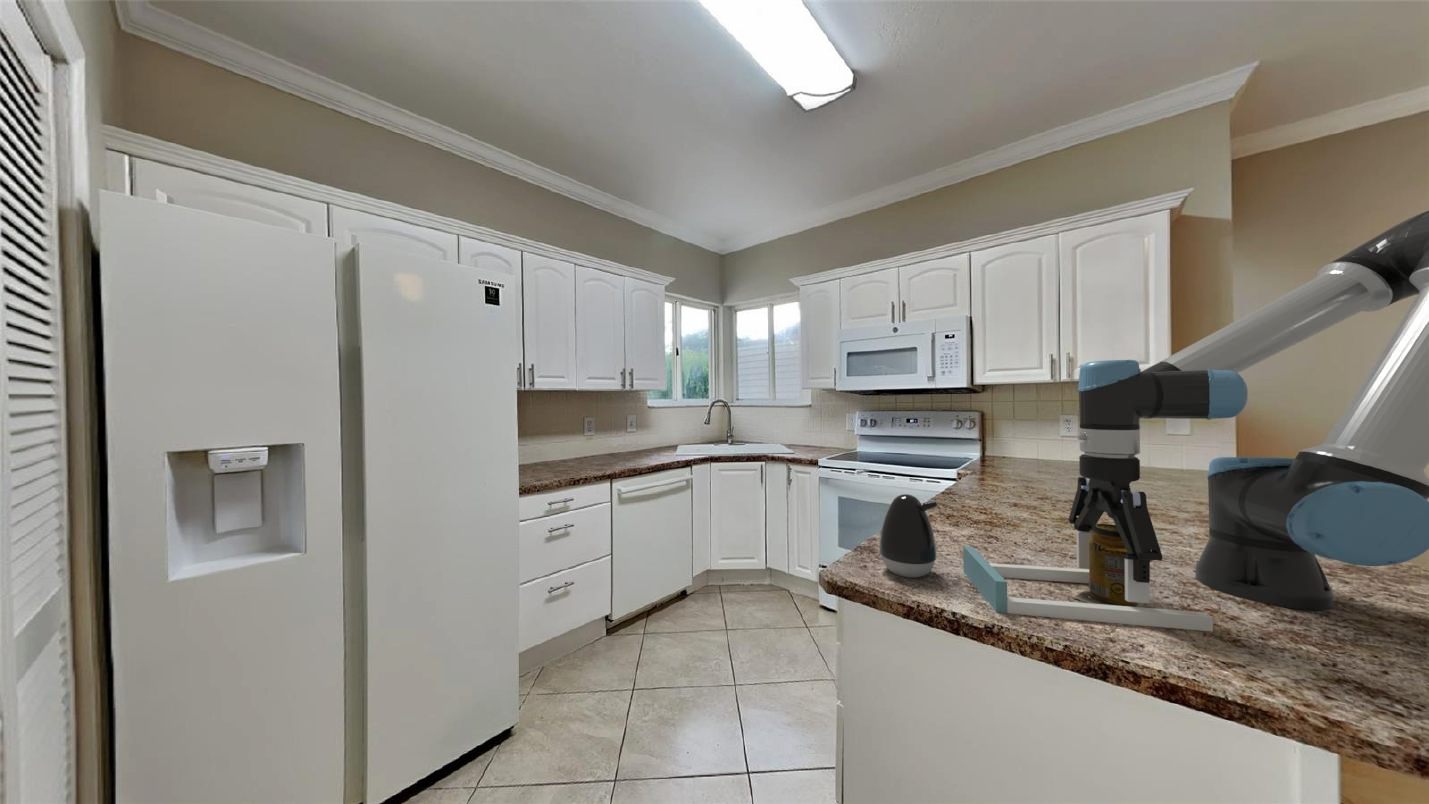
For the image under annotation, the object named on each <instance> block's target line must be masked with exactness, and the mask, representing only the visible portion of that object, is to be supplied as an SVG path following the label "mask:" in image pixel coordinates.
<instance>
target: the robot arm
mask: <svg viewBox="0 0 1429 804" xmlns="http://www.w3.org/2000/svg"><path fill="white" fill-rule="evenodd" d="M1316 275H1317V276H1316V277H1315V278H1314V279H1312V280H1311V279H1310V281H1308V282H1306V283H1304V284H1302V285H1300V286H1298V287H1296V288H1295V289H1293V290H1291V291H1290V292H1287V293H1286V294H1283V295H1282V296H1279V297H1278V298H1276V299H1275V300H1274V299H1273V301H1271V302H1269V303H1267V304H1265V305H1263V306H1261V307H1260V308H1258V309H1256V310H1253V311H1251V312H1250V313H1248V314H1247V315H1245V316H1243V317H1240V318H1238V319H1237V320H1236V321H1233V322H1231V323H1229V324H1228V325H1225V326H1224V327H1222V328H1221V329H1219V330H1217V331H1214V332H1213V333H1211V334H1209V335H1207V336H1205V337H1203V338H1202V339H1200V340H1198V341H1196V342H1194V343H1192V344H1191V345H1190V344H1189V346H1186V347H1184V348H1183V349H1181V350H1179V351H1178V352H1176V353H1173V354H1172V355H1170V356H1168V357H1167V358H1164V359H1163V360H1161V361H1159V362H1158V363H1155V364H1153V365H1151V366H1149V367H1147V368H1145V369H1143V370H1142V369H1141V368H1140V363H1139V362H1138V361H1137V360H1134V359H1112V360H1095V361H1089V362H1085V363H1083V364H1082V365H1080V368H1079V373H1078V374H1079V375H1078V388H1077V392H1078V412H1079V414H1078V417H1079V434H1078V435H1077V436H1076V438H1077V440H1079V451H1081V452H1083V454H1080V456H1078V458H1079V460H1078V461H1079V475H1080V477H1078V478H1077V489H1076V491H1075V494H1074V495H1075V496H1074V499H1073V502H1072V503H1073V504H1072V506H1071V509H1070V513H1069V515H1068V516H1069V517H1068V522H1069V524H1071V525H1073V528H1074V529H1075V531H1076V568H1077V569H1089V542H1090V541H1091V540H1092V533H1093V531H1092V527H1093V525H1096V524H1098V522H1099V521H1100V519H1101V518H1102V516H1103V514H1104V513H1106V514H1107V516H1108V517H1109V518H1110V519H1112V520H1113V523H1114V525H1116V527H1117V529H1118V532H1119V534H1120V536H1121V539H1122V541H1123V543H1124V546H1125V548H1126V550H1127V552H1128V553H1127V554H1126V555H1125V556H1124V558H1125V600H1126V601H1128V602H1139V603H1145V604H1150V603H1151V599H1150V594H1151V593H1150V585H1151V584H1150V582H1151V581H1150V580H1151V575H1150V573H1151V565H1150V564H1151V562H1152V561H1158V562H1159V561H1160V562H1161V561H1162V560H1163V555H1162V551H1161V548H1160V544H1159V540H1158V538H1157V535H1156V532H1155V528H1154V526H1153V522H1152V520H1151V518H1152V517H1151V515H1150V512H1149V509H1148V504H1147V503H1148V502H1147V494H1146V492H1144V491H1133V490H1131V486H1130V485H1131V483H1132V482H1137V481H1139V480H1140V478H1141V460H1140V459H1139V458H1138V455H1139V454H1140V453H1141V443H1140V441H1141V440H1140V439H1141V438H1140V437H1141V433H1140V431H1141V429H1140V428H1141V427H1140V426H1141V425H1140V420H1141V419H1147V420H1148V419H1150V420H1151V419H1174V420H1175V419H1178V420H1179V419H1182V420H1184V419H1186V420H1187V419H1194V420H1197V419H1198V420H1200V419H1203V420H1204V419H1205V420H1208V421H1210V420H1213V419H1215V420H1216V419H1232V418H1234V417H1237V416H1239V414H1241V413H1242V412H1243V410H1244V409H1245V407H1246V406H1247V402H1248V385H1247V382H1245V379H1244V378H1243V377H1242V375H1240V374H1239V373H1241V372H1244V370H1246V369H1249V368H1250V367H1253V366H1255V365H1257V364H1259V363H1261V362H1263V361H1265V360H1267V359H1269V358H1271V357H1273V356H1275V355H1277V354H1279V353H1280V352H1282V351H1285V350H1287V349H1289V348H1290V347H1293V346H1295V345H1296V344H1298V343H1301V342H1303V341H1304V340H1307V339H1309V338H1310V337H1313V336H1314V335H1317V334H1319V333H1321V332H1323V331H1325V330H1327V329H1329V328H1331V327H1333V326H1335V325H1337V324H1339V323H1340V322H1343V321H1345V320H1346V319H1349V318H1351V317H1352V316H1354V315H1357V314H1360V312H1368V313H1369V312H1375V311H1381V310H1382V309H1384V308H1386V307H1389V306H1391V305H1393V304H1394V303H1397V302H1400V301H1401V300H1405V299H1407V298H1410V297H1412V296H1415V295H1417V296H1416V298H1415V299H1414V301H1413V302H1412V304H1411V305H1410V307H1409V308H1408V310H1407V312H1406V313H1405V314H1404V316H1403V318H1402V319H1401V320H1400V323H1399V324H1398V325H1397V327H1396V329H1395V330H1394V332H1393V333H1392V335H1391V336H1390V338H1389V340H1388V341H1387V343H1386V344H1385V346H1384V347H1383V349H1382V351H1381V352H1380V353H1379V355H1378V357H1377V359H1376V360H1375V361H1374V363H1373V365H1372V367H1371V368H1370V369H1369V371H1368V372H1367V374H1366V376H1365V377H1364V379H1363V380H1362V382H1361V384H1359V386H1358V388H1357V390H1356V391H1355V393H1354V394H1353V396H1352V397H1351V399H1350V401H1349V402H1348V404H1347V405H1346V407H1345V408H1344V410H1343V411H1342V413H1341V414H1340V416H1339V418H1338V419H1337V421H1336V422H1335V424H1334V426H1333V427H1332V428H1331V430H1330V431H1329V433H1328V435H1327V436H1326V438H1325V440H1324V441H1323V442H1322V443H1321V444H1319V445H1314V446H1312V447H1307V448H1303V449H1300V450H1299V452H1298V453H1297V455H1296V457H1294V458H1293V457H1258V456H1257V457H1256V456H1255V457H1252V456H1251V457H1249V456H1248V457H1247V456H1246V457H1244V456H1243V457H1242V456H1227V457H1225V456H1221V457H1215V458H1213V459H1211V461H1210V463H1208V464H1209V466H1208V473H1207V475H1206V479H1207V480H1208V481H1207V482H1208V490H1207V491H1208V524H1209V525H1208V533H1209V534H1208V535H1209V536H1208V540H1207V543H1206V544H1205V547H1204V548H1203V550H1202V553H1201V555H1200V557H1199V560H1198V561H1197V563H1196V565H1195V570H1194V571H1195V579H1196V581H1197V582H1198V583H1200V584H1201V585H1204V586H1205V587H1208V588H1210V589H1212V590H1215V591H1217V592H1220V593H1223V594H1226V595H1229V596H1233V597H1236V598H1239V599H1244V600H1248V601H1252V602H1256V603H1261V604H1264V605H1270V606H1277V607H1283V608H1285V609H1293V610H1301V611H1302V610H1303V611H1325V610H1330V609H1332V608H1333V607H1334V591H1333V589H1332V587H1331V586H1330V584H1329V582H1328V579H1327V576H1326V575H1325V572H1324V570H1323V568H1322V567H1321V565H1320V563H1319V560H1318V558H1317V556H1318V557H1321V558H1324V559H1327V560H1333V561H1334V560H1335V561H1339V562H1343V563H1345V564H1350V565H1353V566H1354V565H1355V566H1359V567H1360V566H1361V567H1383V566H1389V565H1391V566H1392V565H1398V564H1402V563H1406V562H1409V561H1411V560H1413V559H1415V558H1418V557H1420V556H1421V555H1424V553H1425V552H1427V551H1429V501H1428V500H1429V477H1428V476H1427V475H1426V474H1425V469H1426V468H1427V467H1428V465H1429V210H1427V211H1424V212H1421V213H1418V214H1417V215H1414V216H1411V217H1410V218H1408V219H1406V220H1404V221H1402V222H1400V223H1397V224H1396V225H1394V226H1392V227H1390V228H1389V229H1387V230H1385V231H1384V232H1382V233H1380V234H1379V235H1377V236H1375V237H1373V238H1371V239H1369V240H1367V241H1366V242H1364V243H1363V244H1361V245H1359V246H1358V247H1356V248H1353V250H1351V251H1349V252H1347V253H1346V254H1344V255H1342V256H1340V257H1339V258H1337V259H1335V260H1333V261H1331V262H1329V263H1327V264H1326V265H1324V266H1322V267H1321V268H1320V269H1319V271H1318V272H1317V274H1316ZM1136 455H1137V457H1136ZM1135 550H1136V551H1135Z"/></svg>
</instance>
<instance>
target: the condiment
mask: <svg viewBox="0 0 1429 804" xmlns="http://www.w3.org/2000/svg"><path fill="white" fill-rule="evenodd" d="M1091 532H1093V533H1092V540H1091V541H1090V542H1089V583H1088V585H1089V588H1087V589H1085V590H1084V591H1081V592H1080V593H1078V594H1077V595H1074V596H1073V598H1074V599H1077V600H1079V601H1081V602H1083V603H1090V604H1103V605H1116V606H1128V607H1141V608H1143V606H1144V605H1145V604H1146V603H1139V602H1128V601H1126V600H1125V558H1124V556H1125V555H1126V554H1127V553H1128V552H1127V550H1126V548H1125V546H1124V543H1123V541H1122V539H1121V536H1120V534H1119V532H1118V529H1117V527H1116V525H1115V524H1110V523H1097V524H1096V525H1093V527H1092V531H1091ZM1135 551H1136V550H1135Z"/></svg>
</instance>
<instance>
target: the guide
mask: <svg viewBox="0 0 1429 804" xmlns="http://www.w3.org/2000/svg"><path fill="white" fill-rule="evenodd" d="M962 549H963V550H962V552H963V553H962V554H963V555H962V556H963V557H962V559H963V573H964V574H965V575H966V576H967V578H968V579H969V580H970V581H971V583H972V584H973V585H974V586H975V587H976V589H977V591H978V592H979V593H980V594H981V596H983V598H984V599H985V600H986V602H987V603H988V602H989V603H988V604H989V605H990V606H991V608H992V607H993V608H992V609H993V611H994V612H995V613H1001V612H1003V613H1004V614H1014V615H1024V616H1025V615H1026V616H1033V617H1034V616H1035V617H1043V618H1044V617H1046V618H1058V619H1067V620H1079V621H1088V622H1099V623H1111V624H1112V623H1113V624H1121V625H1134V626H1145V627H1157V628H1168V629H1178V630H1180V629H1182V630H1191V631H1201V632H1213V633H1214V618H1213V616H1211V615H1209V614H1207V613H1206V612H1202V611H1191V610H1178V609H1177V610H1176V609H1168V608H1167V609H1165V608H1154V607H1152V608H1151V607H1128V606H1116V605H1103V604H1090V603H1087V602H1077V601H1076V602H1073V601H1063V600H1049V599H1038V598H1037V599H1036V598H1035V599H1034V598H1022V597H1011V596H1008V581H1007V580H1006V578H1008V579H1020V580H1033V581H1050V582H1062V583H1063V582H1065V583H1079V584H1089V569H1080V568H1072V567H1056V566H1041V565H1026V564H1025V565H1024V564H1023V565H1022V564H1009V563H1007V564H1005V563H994V562H993V563H992V562H991V563H990V562H988V561H987V560H986V559H985V558H984V557H983V556H982V555H981V554H980V553H979V551H978V550H976V549H975V547H974V546H969V545H963V546H962ZM1003 613H1002V614H1003Z"/></svg>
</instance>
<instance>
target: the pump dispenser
mask: <svg viewBox="0 0 1429 804" xmlns="http://www.w3.org/2000/svg"><path fill="white" fill-rule="evenodd" d="M937 507H938V503H937V501H935V500H933V501H929V502H922V503H921V501H920V500H919V499H918V498H917V497H916V496H914V495H911V494H907V493H905V494H900V495H898V496H896V497H895V498H894V499H893V500H892V501H891V503H890V505H889V507H888V509H887V511H886V514H885V516H884V520H883V522H882V526H881V530H880V531H881V532H880V535H879V536H880V538H879V549H878V550H879V554H880V555H881V559H882V561H883V564H884V565H885V566H886V568H887V569H888V570H889V571H890V572H892V573H893V574H895V575H896V576H898V577H899V576H900V577H904V578H912V579H914V578H916V579H918V578H921V577H924V576H926V575H927V574H929V573H930V572H931V571H932V569H933V567H934V564H935V562H936V561H937V557H938V556H937V555H938V553H937V546H936V539H935V533H934V530H933V527H932V526H933V525H932V523H931V521H930V518H929V516H928V513H927V511H928V510H931V509H934V508H937Z"/></svg>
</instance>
